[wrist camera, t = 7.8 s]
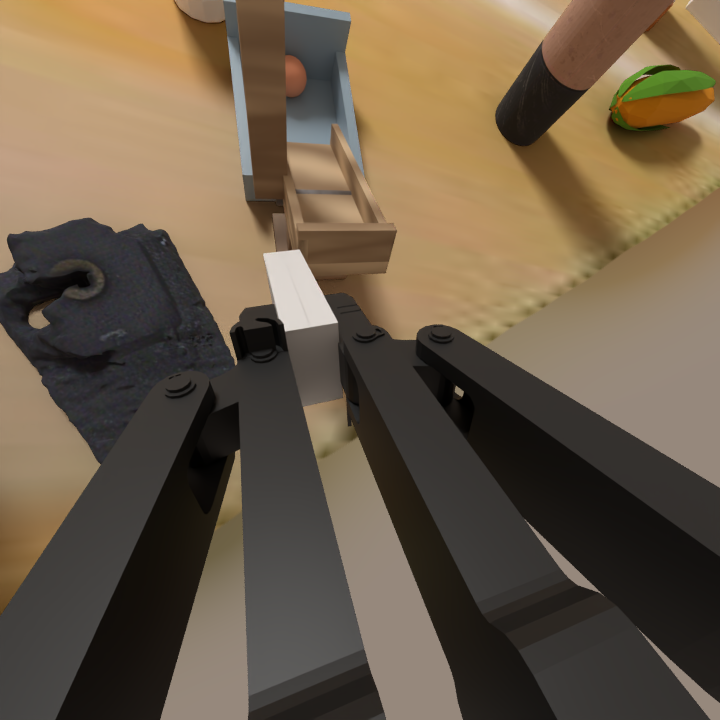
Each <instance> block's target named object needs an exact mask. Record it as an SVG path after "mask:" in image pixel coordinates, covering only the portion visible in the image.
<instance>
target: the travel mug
mask: <svg viewBox="0 0 720 720" xmlns="http://www.w3.org/2000/svg"><path fill="white" fill-rule="evenodd" d="M673 1H674V0H572V1H571V3H570V4H569V5H568V7H567V8H566V9H565V11H564V12H563V14H562V15H561V16H560V18H559V19H558V20H557V22H556V23H555V24H554V26H553V27H552V28H551V30H550V31H549V33H548V34H547V35H546V37H545V38H544V40H543V41H542V42H541V44H540V45H539V47H538V48H537V50H536V51H535V53H534V54H533V55H532V57H531V58H530V60H529V61H528V63H527V64H526V66H525V67H524V69H523V70H522V71H521V73H520V74H519V76H518V77H517V79H516V80H515V82H514V83H513V85H512V86H511V87H510V89H509V90H508V92H507V93H506V95H505V96H504V98H503V99H502V101H501V102H500V104H499V105H498V107H497V110H496V115H495V117H496V123H497V126H498V128H499V130H500V131H501V133H502V134H503V135H504V136H505V137H506V138H507V139H508V140H509V141H511V142H512V143H514V144H517V145H521V146H527V145H530V144H532V143H534V142H535V141H536V140H537V139H538V138H539V137H540V136H541V135H542V134H543V133H545V132H546V131H547V130H548V129H549V128H550V127H551V126H552V125H553V124H554V123H555V122H556V121H557V120H558V119H559V118H560V117H561V116H562V115H563V114H564V113H565V112H566V111H567V110H568V109H569V108H570V107H571V106H572V105H573V104H574V103H575V102H576V101H577V100H578V99H579V98H580V97H581V96H582V95H583V94H584V93H585V92H586V91H587V90H588V89H590V87H591V86H592V85H594V83H595V82H596V81H597V80H598V79H599V78H600V77H601V76H602V75H603V74H604V73H605V72H606V71H607V70H608V69H609V68H610V67H611V66H612V65H613V64H614V63H615V62H616V61H617V60H618V58H619V57H620V56H621V55H622V54H623V53H624V52H625V51H626V50H627V49H628V48H629V47H630V46H631V45H632V44H633V43H634V42H635V41H636V40H637V39H638V38H639V37H640V36H641V35H642V33H643V32H644V31H645V30H646V29H647V28H648V27H649V26H650V25H651V24H652V23H653V22H654V21H655V20H656V19H657V18H658V17H659V16H660V15H661V14H662V13H663V12H664V11H665V10H666V8H667V7H668V6H669V5H670V4H671V3H672V2H673Z"/></svg>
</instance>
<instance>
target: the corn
mask: <svg viewBox="0 0 720 720" xmlns="http://www.w3.org/2000/svg"><path fill="white" fill-rule="evenodd" d="M641 75H652V76H647V77H644V78H641V79H638V80H636V79H637V78H639V77H640V76H641ZM635 80H636V81H635ZM715 82H716V81H715V80H714V79H713V78H711V77H710V76H708V75H706V74H704V73H702V72H698V71H691V70H681V69H680V68H679V67H676V66H673V65H658V66H649V67H645V68H644V69H642V70H640V71H639V72H637V73H636V74H634V75H632V76H631V77H629V78H628V79H626V80H625V81H624V82H623V83H622V84H621V86H620V88H619V90H618V91H617V92H616V94H615V95H614V97H613V100H612V103H611V106H610V108H609V110H611V111H612V112H613V114H612V116H611V117H612V119H613V121H614V123H616V124H618V125H619V126H621V127H623V128H625V129H628V130H634V131H642V130H660V129H666V128H670V127H666V126H663V125H662V124H669V123H675V122H680V121H682V120H684V119H687V118H689V117H691V116H693V115H696V114H698V113H700V112H702V111H704V110H705V109H706V108H707V107H708V106H709V105H710V104H711V103H712V102H713V101H714V88H711V87H713V86H714V85H715Z"/></svg>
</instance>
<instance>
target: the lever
mask: <svg viewBox="0 0 720 720" xmlns="http://www.w3.org/2000/svg"><path fill="white" fill-rule="evenodd" d="M236 10H237V21H238V31H239V41H240V51H241V62H242V72H243V82H244V92H245V103H246V113H247V123H248V133H249V144H250V154H251V164H252V174H253V184H254V192H255V199H276V205H277V206H283V208H284V213H285V218H286V222H287V227H288V232H289V237H290V241H291V246H292V250H300V251H301V253H302V255H303V257H304V259H305V261H306V263H307V265H308V267H309V268H310V270H311V272H312V274H313V276H330V275H354V274H378V273H386V270H387V266H388V262H389V259H390V255H391V251H392V247H393V244H394V240H395V236H396V232H397V229H396V227H395V225H394V224H393V223H387V222H386V220H385V218H384V216H383V214H382V212H381V210H380V208H379V206H378V204H377V202H376V200H375V198H374V196H373V194H372V192H371V190H370V188H369V186H368V184H367V182H366V180H365V178H364V176H363V174H362V172H361V170H360V168H359V166H358V164H357V162H356V160H355V158H354V156H353V154H352V152H351V150H350V148H349V146H348V144H347V141H346V139H345V137H344V135H343V133H342V131H341V129H340V127H339V125H338V124H331V138H330V145H328V144H312V143H297V142H287V125H286V69H285V13H284V0H236Z"/></svg>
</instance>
